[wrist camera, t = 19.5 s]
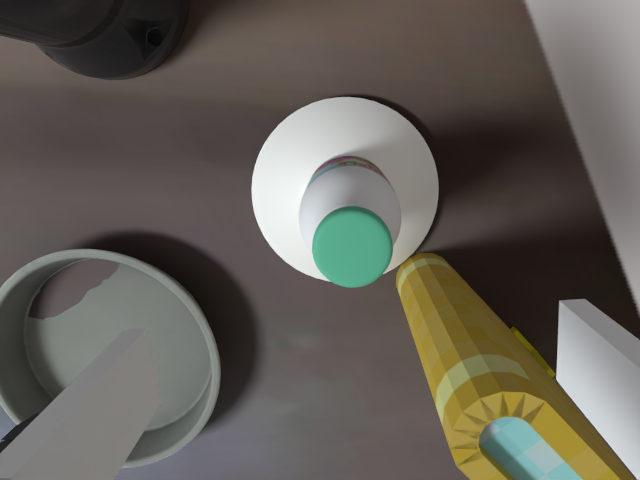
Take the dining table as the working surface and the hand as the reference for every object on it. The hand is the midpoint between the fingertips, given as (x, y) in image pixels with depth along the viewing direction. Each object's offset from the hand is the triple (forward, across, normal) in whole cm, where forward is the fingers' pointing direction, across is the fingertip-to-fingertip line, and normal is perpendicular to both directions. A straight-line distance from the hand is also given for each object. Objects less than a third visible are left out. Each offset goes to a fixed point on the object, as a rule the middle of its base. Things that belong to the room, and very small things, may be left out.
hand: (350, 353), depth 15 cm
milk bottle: (+32, 0, 0) cm, 32 cm away
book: (+33, +11, -14) cm, 37 cm away
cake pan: (+33, -26, -15) cm, 45 cm away
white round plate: (+33, 0, 0) cm, 33 cm away
